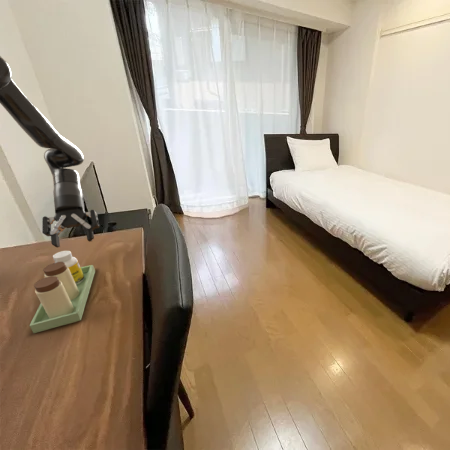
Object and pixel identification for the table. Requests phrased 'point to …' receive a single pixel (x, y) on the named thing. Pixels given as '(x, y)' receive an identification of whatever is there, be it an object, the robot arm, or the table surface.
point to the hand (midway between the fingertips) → (73, 243)
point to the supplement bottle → (70, 265)
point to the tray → (41, 317)
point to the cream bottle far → (53, 297)
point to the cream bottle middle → (63, 277)
